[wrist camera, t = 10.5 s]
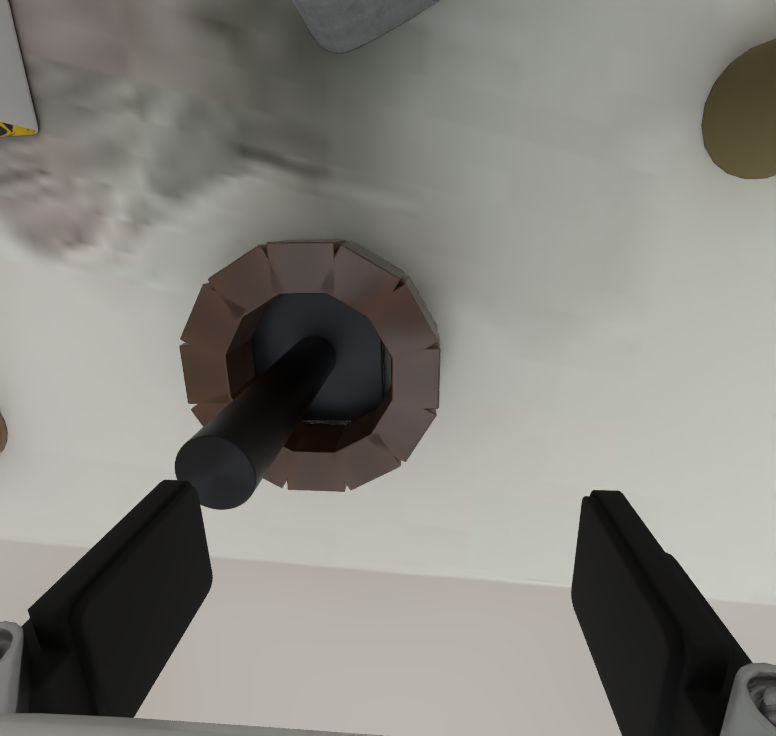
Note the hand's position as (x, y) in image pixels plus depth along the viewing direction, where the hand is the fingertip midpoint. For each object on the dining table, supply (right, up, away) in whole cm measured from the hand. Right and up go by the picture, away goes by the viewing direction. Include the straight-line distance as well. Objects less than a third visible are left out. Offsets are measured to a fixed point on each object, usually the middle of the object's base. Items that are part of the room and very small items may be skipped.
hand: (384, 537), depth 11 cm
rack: (-4, +5, +17) cm, 18 cm away
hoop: (-4, +5, +16) cm, 17 cm away
